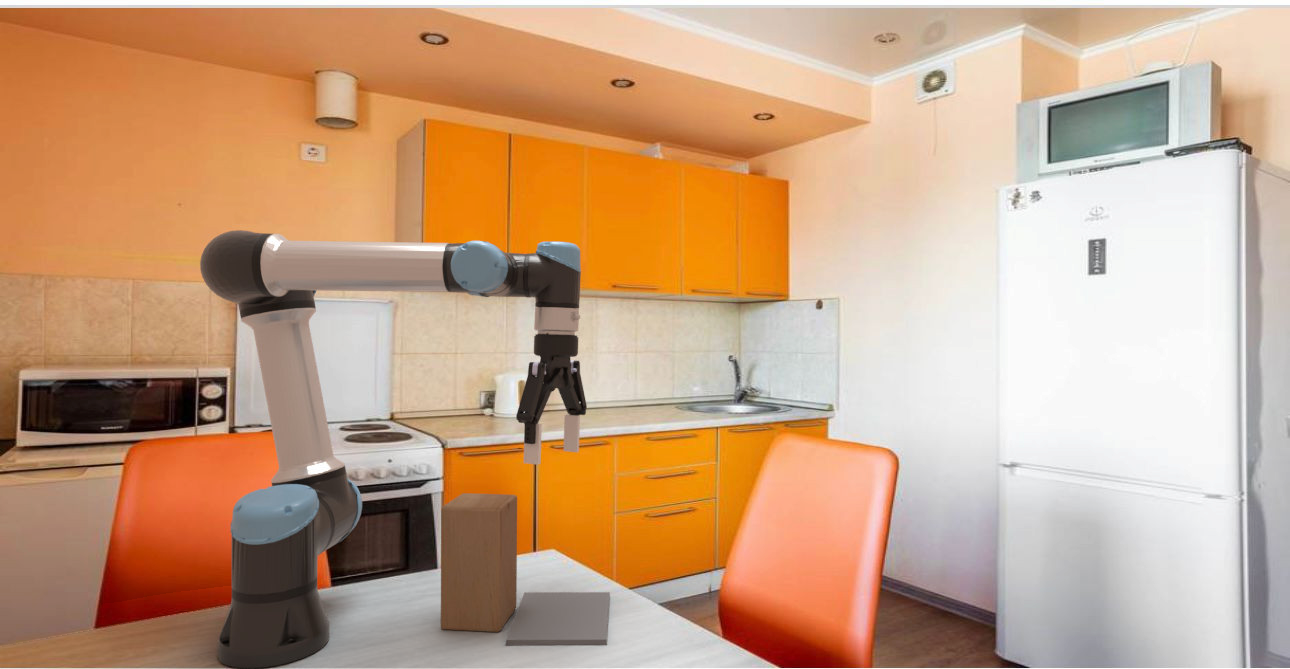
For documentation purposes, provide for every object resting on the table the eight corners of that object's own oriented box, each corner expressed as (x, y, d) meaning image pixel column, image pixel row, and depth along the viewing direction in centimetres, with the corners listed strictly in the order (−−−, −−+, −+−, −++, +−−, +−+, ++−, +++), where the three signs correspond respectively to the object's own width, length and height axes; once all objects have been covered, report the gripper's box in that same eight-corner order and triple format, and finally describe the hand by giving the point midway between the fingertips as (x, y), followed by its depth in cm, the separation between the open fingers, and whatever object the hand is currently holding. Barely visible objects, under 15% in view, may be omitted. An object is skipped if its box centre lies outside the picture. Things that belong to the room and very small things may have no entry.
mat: (505, 645, 110) (505, 639, 110) (524, 596, 130) (524, 592, 130) (606, 644, 111) (606, 639, 111) (609, 596, 131) (609, 592, 131)
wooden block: (517, 609, 125) (517, 494, 124) (499, 633, 115) (500, 508, 115) (461, 606, 126) (462, 492, 125) (439, 630, 116) (440, 506, 116)
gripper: (538, 333, 110) (534, 471, 110) (607, 334, 133) (603, 448, 133) (496, 331, 112) (492, 466, 113) (571, 333, 136) (567, 445, 136)
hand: (552, 457), depth 123 cm, fingers open, 13 cm apart
